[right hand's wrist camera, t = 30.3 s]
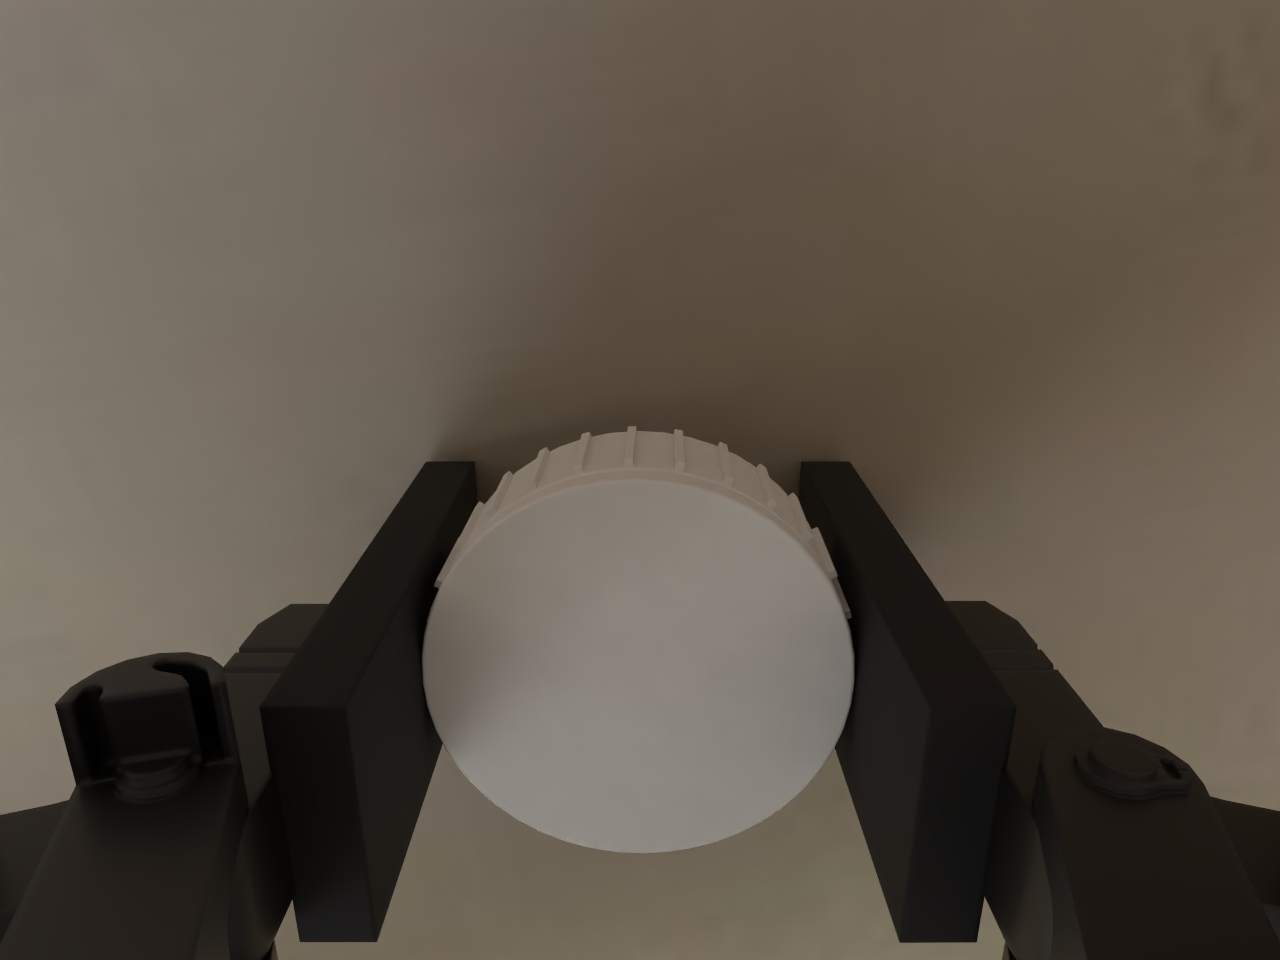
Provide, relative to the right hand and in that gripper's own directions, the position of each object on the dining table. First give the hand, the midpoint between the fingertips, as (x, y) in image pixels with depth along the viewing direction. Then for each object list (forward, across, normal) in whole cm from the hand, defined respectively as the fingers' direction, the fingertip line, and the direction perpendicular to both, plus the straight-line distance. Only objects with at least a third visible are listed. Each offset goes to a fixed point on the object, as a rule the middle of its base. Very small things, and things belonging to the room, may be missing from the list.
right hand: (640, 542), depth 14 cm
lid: (-4, 0, 0) cm, 4 cm away
